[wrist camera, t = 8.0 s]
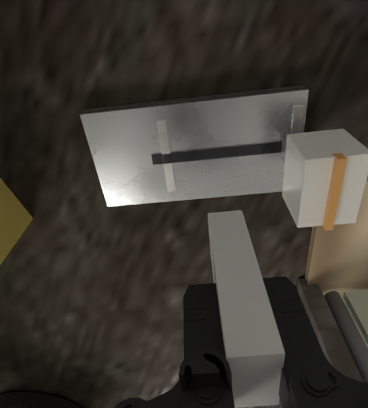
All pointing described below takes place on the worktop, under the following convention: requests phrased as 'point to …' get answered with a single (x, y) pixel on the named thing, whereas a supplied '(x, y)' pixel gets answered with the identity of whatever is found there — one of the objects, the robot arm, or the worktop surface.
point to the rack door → (352, 324)
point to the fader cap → (323, 177)
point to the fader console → (194, 145)
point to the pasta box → (11, 220)
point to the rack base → (335, 281)
